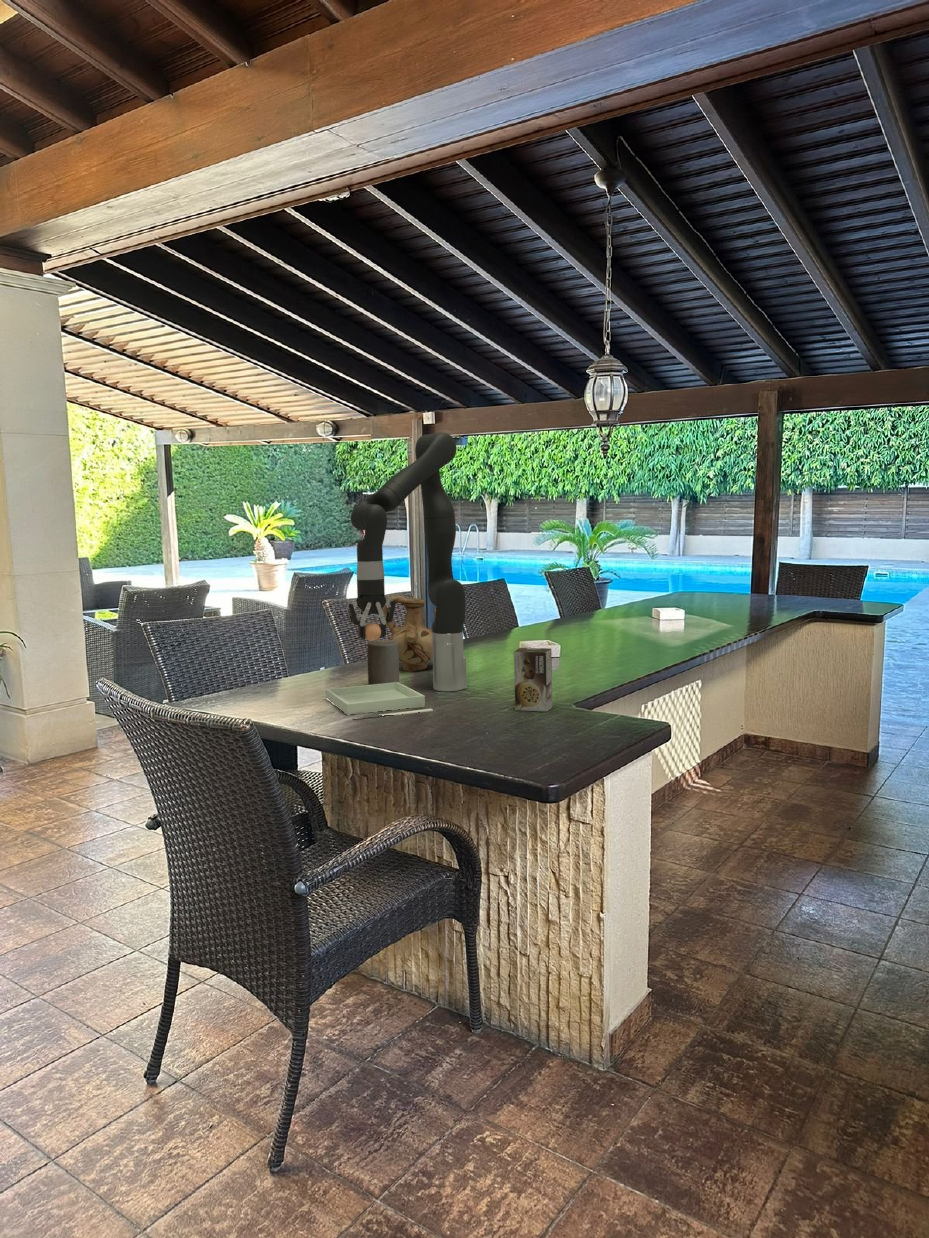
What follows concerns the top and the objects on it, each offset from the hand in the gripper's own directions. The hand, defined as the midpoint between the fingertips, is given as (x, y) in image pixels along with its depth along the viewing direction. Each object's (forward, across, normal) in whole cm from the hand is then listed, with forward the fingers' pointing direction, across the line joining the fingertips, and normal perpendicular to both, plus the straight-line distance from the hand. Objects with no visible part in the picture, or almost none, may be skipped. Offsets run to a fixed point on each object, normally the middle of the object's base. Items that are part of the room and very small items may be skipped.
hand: (372, 638), depth 244 cm
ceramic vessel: (+18, -29, -43) cm, 55 cm away
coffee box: (+18, -36, +27) cm, 49 cm away
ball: (-2, 0, 0) cm, 2 cm away
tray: (+18, 0, 0) cm, 18 cm away
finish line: (+18, 0, +16) cm, 24 cm away
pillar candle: (+19, -10, -21) cm, 30 cm away
